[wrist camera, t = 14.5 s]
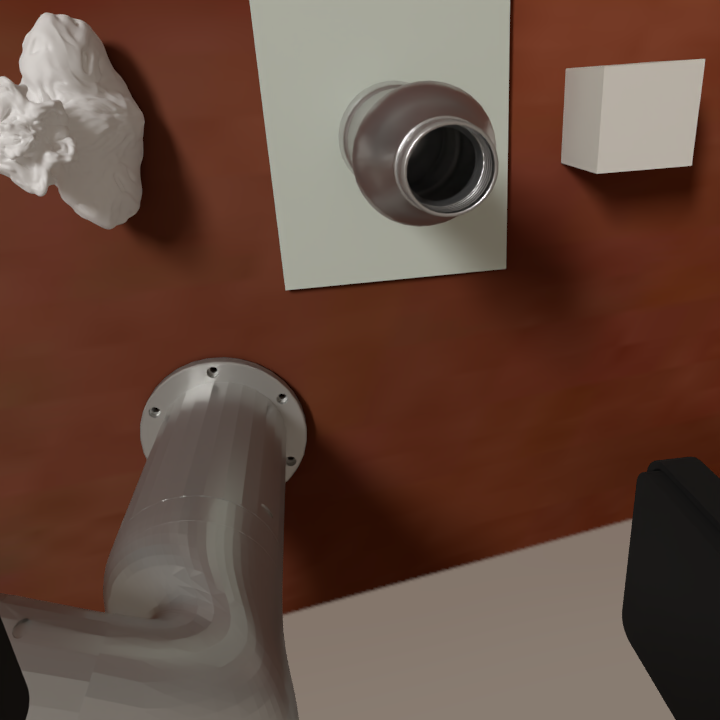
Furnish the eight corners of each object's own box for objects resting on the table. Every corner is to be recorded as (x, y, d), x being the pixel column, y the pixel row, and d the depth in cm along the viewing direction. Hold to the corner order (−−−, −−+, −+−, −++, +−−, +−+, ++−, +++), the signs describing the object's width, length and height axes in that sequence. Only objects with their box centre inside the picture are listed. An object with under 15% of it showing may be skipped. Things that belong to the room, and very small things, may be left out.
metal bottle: (442, 175, 44) (542, 239, 26) (343, 191, 44) (375, 267, 26) (432, 73, 42) (536, 62, 23) (328, 89, 42) (350, 92, 23)
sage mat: (503, 266, 48) (506, 268, 47) (285, 287, 47) (285, 290, 47) (508, -51, 40) (510, -53, 39) (245, -33, 39) (245, -34, 39)
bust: (71, 23, 41) (-120, 29, 33) (150, 1, 37) (-46, 2, 29) (125, 212, 46) (-31, 258, 38) (200, 210, 42) (44, 262, 34)
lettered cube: (648, 155, 46) (696, 165, 40) (560, 162, 45) (596, 173, 40) (658, 61, 43) (710, 58, 38) (565, 68, 43) (604, 66, 38)
